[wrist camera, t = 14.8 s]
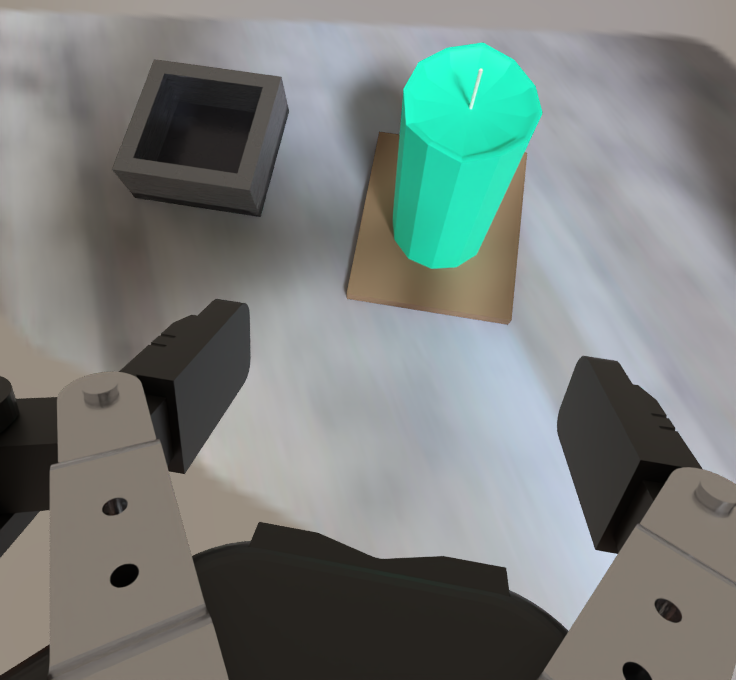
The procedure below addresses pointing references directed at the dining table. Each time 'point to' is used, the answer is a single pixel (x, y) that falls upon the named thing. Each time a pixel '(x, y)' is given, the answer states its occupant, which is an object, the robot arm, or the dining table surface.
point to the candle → (459, 150)
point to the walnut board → (442, 285)
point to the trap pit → (204, 137)
